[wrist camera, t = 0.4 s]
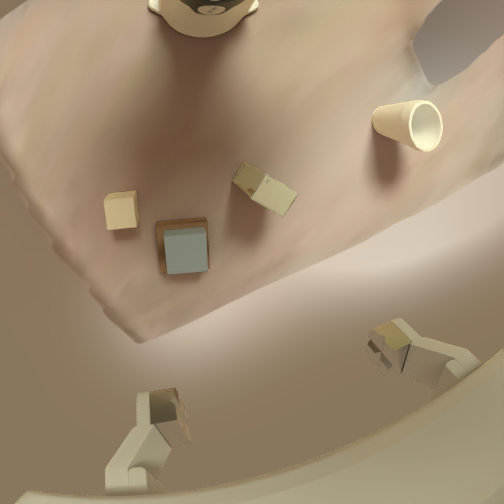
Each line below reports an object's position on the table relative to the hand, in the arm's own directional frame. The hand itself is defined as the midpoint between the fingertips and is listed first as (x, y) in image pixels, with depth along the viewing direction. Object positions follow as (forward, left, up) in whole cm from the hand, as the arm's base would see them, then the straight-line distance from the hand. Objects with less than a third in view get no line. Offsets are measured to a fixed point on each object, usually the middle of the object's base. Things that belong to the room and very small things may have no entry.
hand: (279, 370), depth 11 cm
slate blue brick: (+13, -2, -42) cm, 44 cm away
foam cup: (-11, +39, -45) cm, 60 cm away
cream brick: (+5, -12, -45) cm, 47 cm away
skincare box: (+2, +11, -45) cm, 46 cm away
